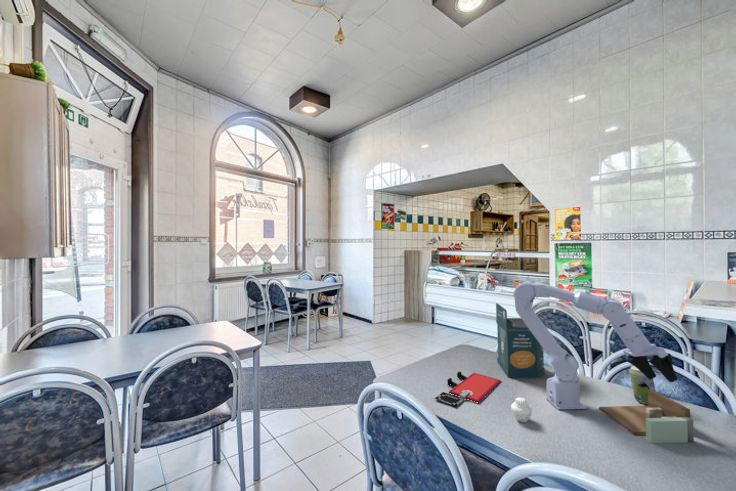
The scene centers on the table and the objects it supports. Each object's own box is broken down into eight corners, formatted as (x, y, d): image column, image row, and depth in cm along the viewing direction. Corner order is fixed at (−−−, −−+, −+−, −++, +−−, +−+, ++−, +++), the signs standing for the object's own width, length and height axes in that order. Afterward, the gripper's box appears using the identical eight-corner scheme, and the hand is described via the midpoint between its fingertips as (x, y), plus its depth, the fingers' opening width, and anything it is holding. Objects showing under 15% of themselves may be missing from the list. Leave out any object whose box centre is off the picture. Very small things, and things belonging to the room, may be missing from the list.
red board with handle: (429, 399, 115) (469, 414, 105) (429, 391, 115) (469, 405, 105) (465, 373, 137) (500, 383, 127) (465, 367, 137) (500, 376, 127)
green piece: (651, 443, 87) (651, 421, 87) (645, 439, 89) (645, 417, 89) (695, 442, 87) (695, 420, 87) (688, 438, 89) (688, 416, 89)
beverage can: (662, 407, 105) (661, 371, 105) (636, 405, 106) (636, 370, 106) (649, 398, 111) (648, 364, 111) (625, 396, 113) (625, 363, 112)
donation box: (497, 362, 147) (495, 302, 147) (534, 363, 145) (532, 302, 145) (507, 377, 131) (506, 310, 131) (549, 378, 129) (547, 310, 129)
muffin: (524, 427, 96) (523, 404, 96) (506, 417, 101) (506, 396, 101) (537, 421, 99) (536, 399, 99) (519, 412, 104) (519, 391, 104)
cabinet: (634, 434, 91) (633, 410, 91) (599, 409, 105) (598, 388, 105) (690, 433, 91) (689, 409, 91) (647, 408, 105) (647, 387, 105)
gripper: (661, 329, 91) (696, 375, 87) (626, 331, 105) (655, 371, 101) (640, 340, 91) (675, 386, 87) (608, 341, 105) (636, 381, 101)
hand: (663, 379), depth 94 cm, fingers open, 7 cm apart
